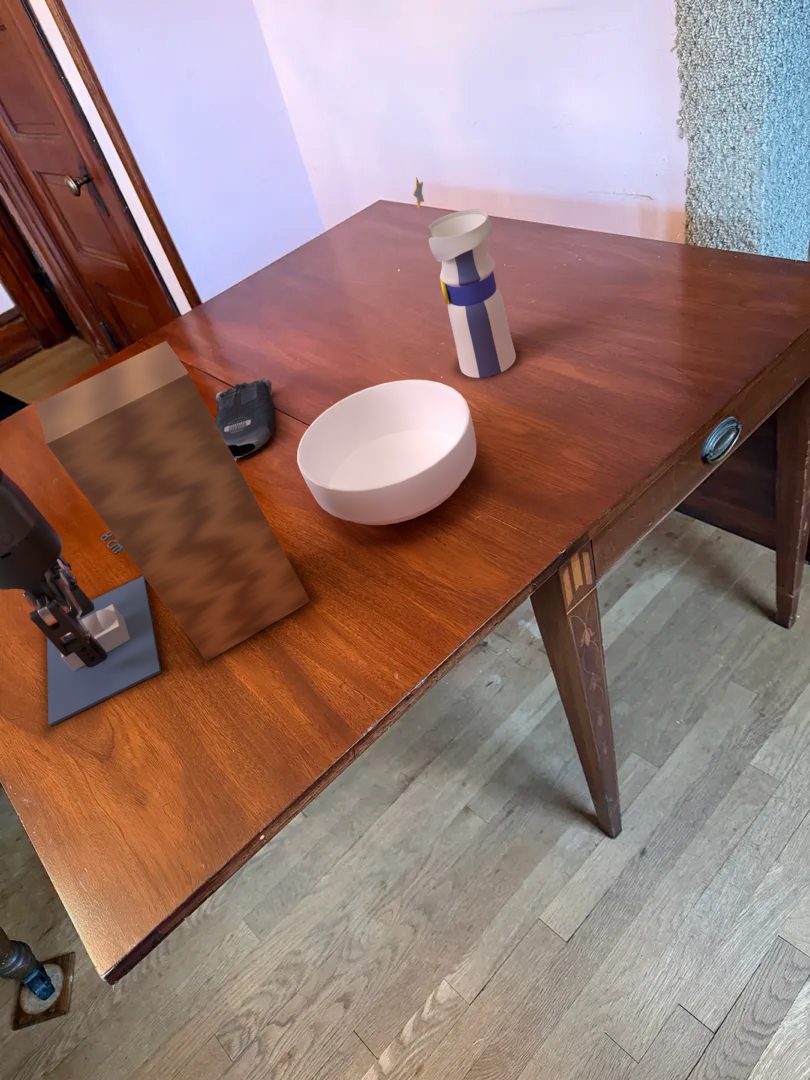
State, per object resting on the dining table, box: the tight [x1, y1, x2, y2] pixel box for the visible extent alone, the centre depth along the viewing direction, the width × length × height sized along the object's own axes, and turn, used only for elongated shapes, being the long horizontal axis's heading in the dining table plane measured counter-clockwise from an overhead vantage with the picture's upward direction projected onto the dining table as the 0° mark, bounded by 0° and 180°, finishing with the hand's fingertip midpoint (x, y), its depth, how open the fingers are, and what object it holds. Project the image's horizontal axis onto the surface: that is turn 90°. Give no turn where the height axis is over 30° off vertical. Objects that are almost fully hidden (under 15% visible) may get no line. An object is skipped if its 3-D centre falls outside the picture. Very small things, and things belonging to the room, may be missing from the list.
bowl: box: [296, 379, 477, 526], centre depth 84 cm, size 20×20×8 cm
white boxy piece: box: [61, 604, 130, 671], centre depth 80 cm, size 7×4×4 cm, turn 118°
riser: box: [35, 340, 311, 662], centre depth 70 cm, size 12×8×28 cm, turn 118°
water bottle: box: [412, 176, 517, 379], centre depth 93 cm, size 8×9×25 cm
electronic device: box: [214, 377, 276, 462], centre depth 105 cm, size 9×6×15 cm
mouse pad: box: [46, 575, 162, 727], centre depth 81 cm, size 16×12×1 cm
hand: (92, 636), depth 80 cm, fingers open, 8 cm apart
